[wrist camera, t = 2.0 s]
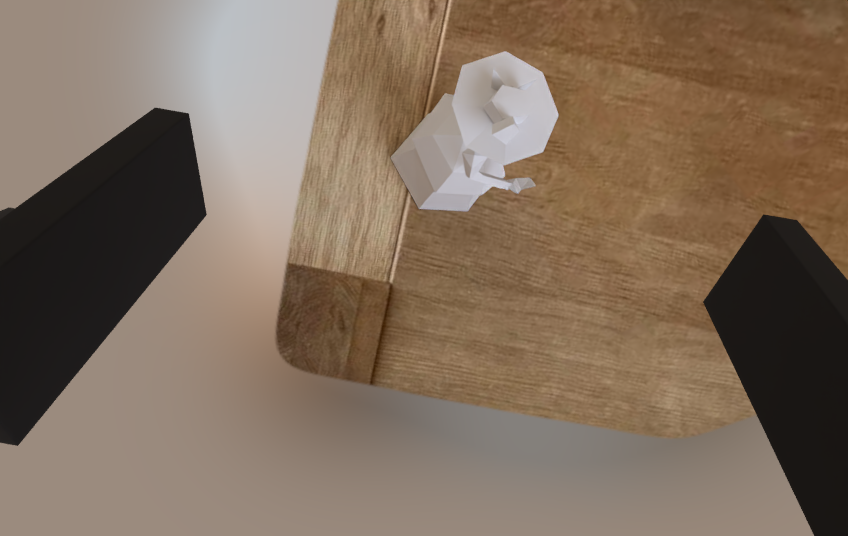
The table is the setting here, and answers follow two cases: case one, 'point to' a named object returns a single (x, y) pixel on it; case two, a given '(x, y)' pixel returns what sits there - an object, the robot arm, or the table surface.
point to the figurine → (477, 134)
